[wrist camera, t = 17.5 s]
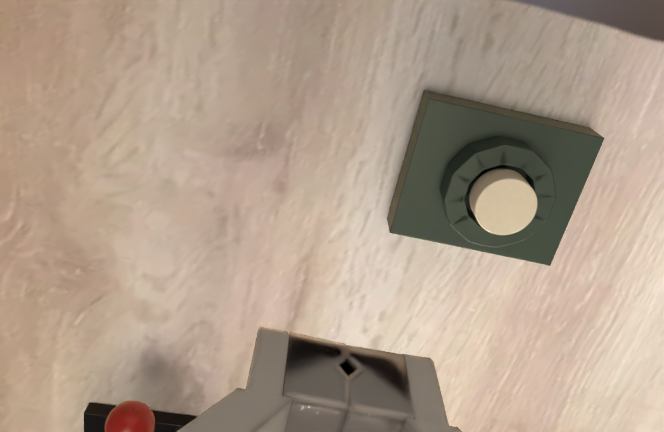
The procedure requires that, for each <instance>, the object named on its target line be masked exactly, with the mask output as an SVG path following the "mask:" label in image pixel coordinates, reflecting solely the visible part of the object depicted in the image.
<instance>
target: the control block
mask: <svg viewBox="0 0 664 432" xmlns="http://www.w3.org/2000/svg"><path fill="white" fill-rule="evenodd" d="M603 140H604V138H603V137H602V136H601V135H599V134H598V133H597V132H595V131H594V130H592V129H591V128H589V127H584V126H580V125H575V124H571V123H567V122H562V121H558V120H553V119H549V118H545V117H540V116H536V115H531V114H527V113H523V112H518V111H514V110H509V109H505V108H500V107H496V106H492V105H487V104H483V103H478V102H474V101H470V100H465V99H461V98H456V97H452V96H448V95H443V94H439V93H434V92H430V91H425V90H424V92H423V95H422V99H421V102H420V106H419V109H418V113H417V116H416V120H415V123H414V127H413V130H412V134H411V137H410V140H409V144H408V147H407V151H406V154H405V158H404V161H403V165H402V168H401V172H400V175H399V179H398V182H397V186H396V189H395V193H394V196H393V200H392V203H391V206H390V210H389V213H388V217H387V221H388V226H389V231H390V233H393V234H398V235H403V236H408V237H413V238H418V239H423V240H428V241H433V242H437V243H442V244H447V245H452V246H457V247H462V248H467V249H472V250H477V251H481V252H486V253H491V254H496V255H501V256H506V257H511V258H516V259H521V260H526V261H530V262H535V263H540V264H545V265H551V262H552V260H553V257H554V255H555V253H556V250H557V248H558V246H559V243H560V241H561V239H562V236H563V234H564V232H565V229H566V227H567V225H568V222H569V220H570V218H571V215H572V213H573V211H574V208H575V206H576V204H577V201H578V199H579V196H580V194H581V192H582V189H583V187H584V185H585V182H586V180H587V178H588V175H589V173H590V171H591V168H592V166H593V164H594V161H595V159H596V157H597V154H598V152H599V150H600V147H601V145H602V142H603ZM500 168H506V169H511V170H514V171H516V172H518V173H519V174H521V175H522V176H523V177H524V178H525V180H526V181H527V182H528V183H529V185H530V186H531V187H532V188H533V190H534V192H535V194H536V197H537V210H536V213H535V216H534V218H533V219H532V221H531V222H530V223H529V224H528V225H527V226H526V227H525V228H523V229H522V230H520V231H518V232H516V233H513V234H509V235H496V234H492V233H490V232H488V231H486V230H485V229H483V228H482V227H481V226H480V224H479V223H478V221H477V219H476V217H475V215H474V213H473V211H472V209H471V207H470V203H469V195H470V191H471V188H472V186H473V184H474V183H475V182H476V180H477V179H478V178H479V177H480V176H482V175H483V174H485V173H486V172H488V171H491V170H494V169H500Z"/></svg>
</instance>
